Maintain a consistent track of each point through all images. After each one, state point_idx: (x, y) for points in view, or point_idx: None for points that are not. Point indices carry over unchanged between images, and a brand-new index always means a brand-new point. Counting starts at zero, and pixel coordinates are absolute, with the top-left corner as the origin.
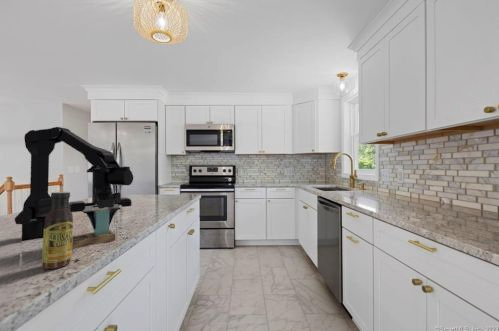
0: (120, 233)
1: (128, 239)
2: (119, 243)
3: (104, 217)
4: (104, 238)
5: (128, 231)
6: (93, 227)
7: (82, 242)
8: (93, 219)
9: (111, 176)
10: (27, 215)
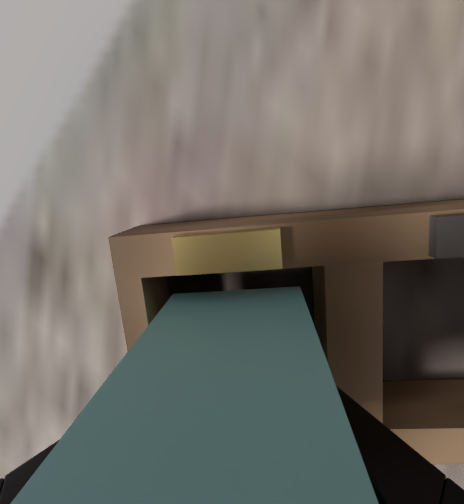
0: None
1: (30, 206)
2: (113, 121)
3: (150, 476)
4: (225, 224)
5: (13, 461)
6: (345, 394)
7: (441, 207)
8: (414, 501)
9: None
10: None
